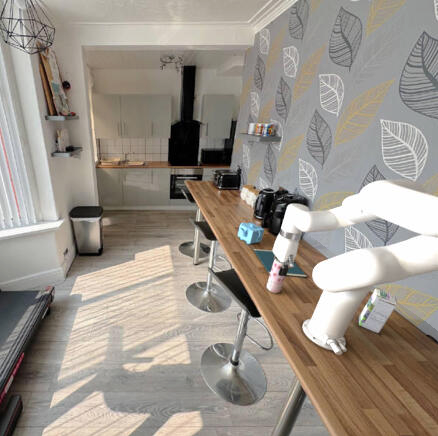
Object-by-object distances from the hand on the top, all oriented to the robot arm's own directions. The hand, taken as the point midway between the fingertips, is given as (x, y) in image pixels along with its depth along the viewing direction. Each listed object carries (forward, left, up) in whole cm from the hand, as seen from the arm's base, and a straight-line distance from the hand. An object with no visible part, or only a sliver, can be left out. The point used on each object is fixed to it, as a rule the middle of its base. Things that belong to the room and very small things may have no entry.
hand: (278, 270), depth 102 cm
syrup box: (-17, -29, -10) cm, 35 cm away
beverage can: (0, 0, -10) cm, 10 cm away
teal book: (+23, -12, -10) cm, 28 cm away
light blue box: (+46, -3, -10) cm, 47 cm away
